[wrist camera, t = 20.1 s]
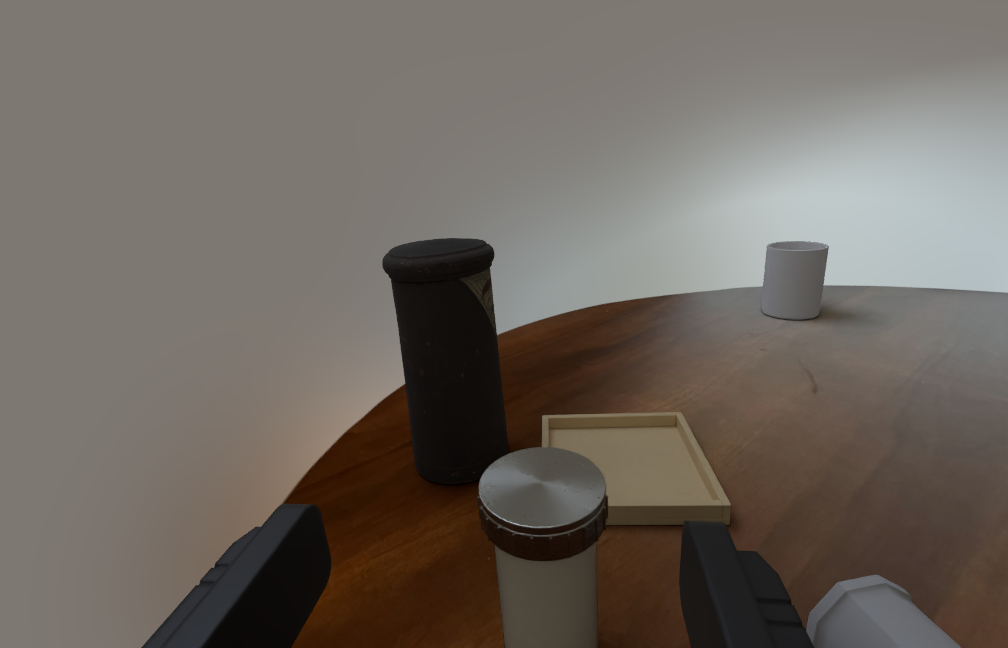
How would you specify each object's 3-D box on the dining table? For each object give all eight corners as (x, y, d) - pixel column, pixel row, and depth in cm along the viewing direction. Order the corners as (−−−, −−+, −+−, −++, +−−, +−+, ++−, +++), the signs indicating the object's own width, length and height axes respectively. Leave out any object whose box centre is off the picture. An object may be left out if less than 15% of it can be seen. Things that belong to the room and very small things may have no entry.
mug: (827, 320, 71) (837, 249, 67) (767, 320, 73) (774, 251, 69) (801, 298, 82) (809, 236, 78) (750, 298, 84) (755, 237, 80)
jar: (501, 701, 24) (482, 529, 21) (508, 612, 29) (494, 460, 25) (603, 705, 23) (601, 529, 20) (594, 613, 28) (591, 459, 25)
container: (529, 461, 43) (514, 236, 37) (438, 503, 38) (403, 254, 32) (480, 423, 50) (460, 228, 44) (398, 455, 45) (363, 243, 39)
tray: (542, 525, 35) (541, 506, 35) (543, 430, 48) (542, 415, 47) (729, 525, 34) (731, 505, 33) (680, 427, 46) (681, 411, 46)
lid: (471, 562, 21) (467, 528, 20) (488, 475, 26) (485, 447, 26) (615, 564, 20) (615, 528, 19) (600, 474, 26) (600, 445, 25)
